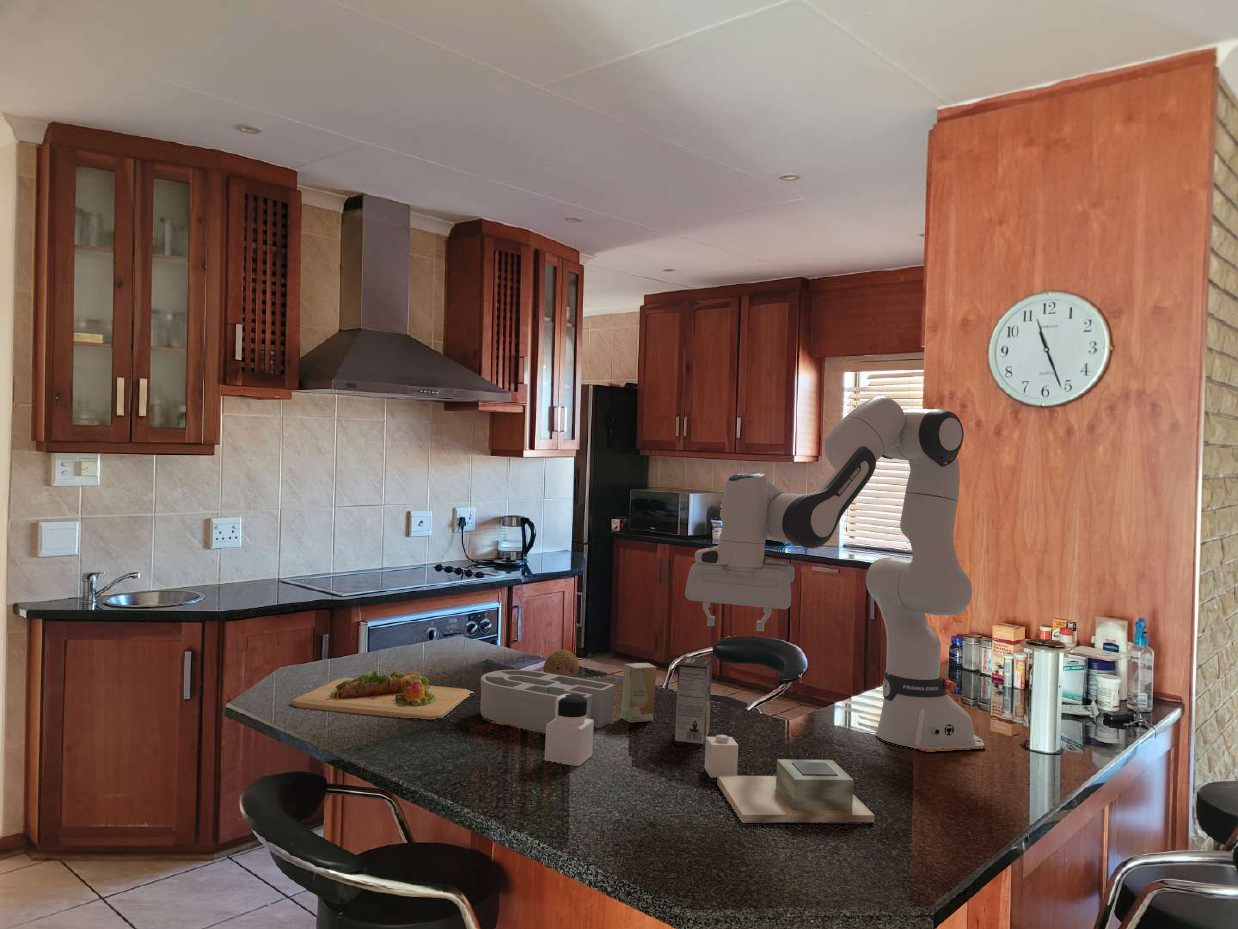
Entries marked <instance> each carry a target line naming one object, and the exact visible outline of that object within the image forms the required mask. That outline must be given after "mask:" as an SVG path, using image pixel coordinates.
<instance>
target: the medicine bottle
mask: <svg viewBox="0 0 1238 929" xmlns="http://www.w3.org/2000/svg"><path fill="white" fill-rule="evenodd" d="M586 715H587V699H586V698H585V697H583V696H581V695H578V694H563V695H560V696H558V697H557V698H556V703H555V719H554V720H552V721H551V722H549V723H547V725H546V735H545V742H544V743H545V744H544V746H545V747H544V761H545V762H548V761H551V762H550V763H554V762H556V764H560V763H561V765H567V766H574V767H580V766H581V765H582V764H583V763H585V762H586V761H587V760H588V759H590V758H591V757H592V756H593V745H594V720H592V719H586Z"/></svg>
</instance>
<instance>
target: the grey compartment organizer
mask: <svg viewBox="0 0 1238 929" xmlns="http://www.w3.org/2000/svg"><path fill="white" fill-rule="evenodd" d="M615 689H616V684H614V683H608V682H603V681H602V682H601V681H597V680H591V679H585V678H579V677H576V678H574V677H568V676H562V675H556V674H550V673H545V672H544V671H538V670H532V669H531V670H530V669H502V670H495V671H490V672H487V673H484V674H482V675H481V677H480V707H479V708H480V710H479V711H480V715H482V716H483V717H484V718H488V719H490V720H493V721H496V722H497V721H498V722H501V723H505V724H510V725H514V726H517V727H520V728H523V729H527V730H534V731H539V732H543V733H546V725H547V723H549V722H551V721H552V720H554V719H555V703H556V698H557V697H558V696H560V695H563V694H578V695H581V696H583V697H585V698H586V699H587V715H586V719H592V720H594V727H598V728H597V729H599V728H600V729H602V728H604V727H606V726H607V725H606V724H608V725H610V724H611V723H612V720H613V711H614V709H613V708H614V694H615V693H616V692H615ZM482 716H481V717H482ZM605 725H606V726H605ZM603 726H604V727H603ZM594 727H593V728H594ZM601 727H602V728H601Z"/></svg>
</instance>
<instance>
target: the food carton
mask: <svg viewBox="0 0 1238 929" xmlns="http://www.w3.org/2000/svg"><path fill="white" fill-rule="evenodd" d="M677 665H678V666H677V682H676V684H677V686H676V687H677V688H676V706H675V708H676V709H675V711H676V712H675V729H674V731H675V732H674V741H675V742H682V743H692V744H699V745H700V744H701V745H704V744H705V743H706V737H708V735H709V733H710V718H711V717H710V715H711V714H710V712H711V692H712V673H713V672H712V671H713V670H712V669H713V667H712V666H713V657H702V656H690V655H689V656H688V655H684V656H683V657H682V659H681V660H680V661H679V663H678V664H677Z"/></svg>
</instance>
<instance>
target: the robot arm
mask: <svg viewBox="0 0 1238 929" xmlns="http://www.w3.org/2000/svg"><path fill="white" fill-rule="evenodd" d="M964 436H965V434H964V427H963V424H962V422H961V419H960V418H959V417H958V415H957V414H956V413H955V412H952V411H950V410H947V409H942V408H934V409H931V408H930V409H929V408H911V409H903V408H902V406H901V405H900V404H899V403H897V402H896V401H895V400H894V399H892V398H890V397H889V396H883V395H880V396H878V395H877V396H874V397H871V398H870V399H868V400H866V401H865V402H863V403H861V404H860V405H858V406H857V407H856V408H854V409H852V410H851V411H850V412H849V413H848V414H847V415H846V416H844V417H843V418H842V419H841V420H840V421H839V422H838V423H837V424H836V425H835V426H834V427H833V428H832V429H831V430H830V432H829V433H828V435H827V437H826V438H825V441H824V451H825V455H826V458H827V460H828V461H829V463H830V465H831V466H832V467H833V469H834V470H835V471H834V472H833V473H832V475H831V476H830V477H829V478H828V480H826V482H825V483H824V484H823V485H822V487H821V488H819V490H816V491H813V492H809V493H804V494H803V493H793V492H792V493H790V492H785V490H782V489H780V488H778V487H777V486H776V485H775V484H773V483H772V482H771V481H770V480H769V479H768V477H767V475H766V474H765V473H762V472H741V473H736V474H733V475H731V476H730V477H729V478H728V479H727V481H726V482H725V485H724V490H723V494H722V500H721V511H720V518H721V531H720V534H719V538H718V545H716V546H709V547H706V548H702V549H698V550H696V551H695V553H694V560H695V563H694V564H692V566H691V567H690V569H689V572H688V575H687V580H686V584H685V592H684V595H685V598H686V599H687V600H688V601H693V602H702V609H703V612H704V614H705V616H706V617H707V619H706V627H715V621H716V616H715V615H711V613H710V611H709V609H710V607H711V604H712V603H713V604H724V605H734V606H735V605H737V606H744V607H757V608H763V613H764V616H763V617H762V618H761V619H760V620H756V627H755V630H756V631H758V632H764V631H765V624H766V622H767V621H768V619H769V618H770V617H771V615H772V611H773V610H772V609H777V610H778V609H779V610H788V609H789V608H790V607H791V605H792V586H791V584H792V583H794V580H795V573H796V571H795V570H796V569H795V567H794V565H793V564H792V563H790V562H788V560H785V559H773V558H765V549H766V548H765V547H766V539H768V540H772V541H777V542H781V543H786V544H793V545H797V546H800V547H803V548H806V549H816V548H820V547H823V546H824V545H825V544H826V543H828V542H829V541H830V539H831V538H832V536H833V535H834V533H835V531H836V529H837V527H838V525H839V523H840V520H841V518H842V516H844V514H845V512H846V511H847V509H848V508H849V507H850V505H851V504H852V503H853V502H854V501H855V499H856V498H857V497H858V495H859V494H860V493H861V492H862V490H863V489H865V488H864V487H865V486H866V485H867V484H868V482H869V481H870V479H871V478H872V476H873V475H874V473H875V470H876V468H877V462H878V460H880V458H883V459H888V460H894V459H895V460H900V461H901V460H902V461H908V464H909V468H910V471H909V476H908V479H907V482H906V488H905V493H904V498H903V504H902V510H901V517H900V522H899V523H900V524H899V528H900V531H901V533H902V535H903V536H904V537H906V538H907V539H908V542H909V543H910V544H909V545H910V547H911V554H912V556H911V557H912V558H907V557H901V556H893V557H891V556H890V557H889V556H888V557H882V558H878V559H876V560H874V561H873V562H872V563H871V564H870V565H869V568H868V569H867V572H866V575H865V584H866V589H867V591H868V593H869V595H870V596H871V597H872V598H873V599H874V601H875V602H876V605H877V606H878V608H879V610H880V613H881V616H882V620H883V622H884V627H885V628H884V629H885V633H886V634H885V635H886V662H885V663H886V666H885V670H884V671H883V681H882V697H883V700H882V702H883V703H882V708H881V713H880V717H879V721H878V724H877V728H876V731H875V733H874V735H875V734H876V735H875V737H876V736H878V737H879V738H881V739H883V740H885V741H888V742H893V743H896V744H901V745H906V746H913V747H916V748H922V749H927V750H930V749H941V748H970V747H978V746H984V743H985V742H984V740H983V739H981V738H980V737H979V736H978V735H977V734H975V730H974V723H973V719H972V717H971V715H970V714H969V713H968V712H967V711H966V710H965V709H964V708H962V706H961V705H959V704H958V703H957V701H955V700H954V699H952V697H951V696H949V695H948V694H947V690H948V691H950V692H955V691H956V689H957V688H958V687H957V684H956V683H955V682H954V681H952V680H950V679H948V680H947V679H945V678H943V677H942V676H940V675H941V674H940V672H941V670H940V668H941V653H942V652H941V648H942V647H941V646H942V643H941V640H940V637H938V635H937V634H936V633H935V632H934V630H932V628H931V626H930V625H929V622H928V619H927V617H926V614H928V615H933V616H956V615H960V614H962V613H963V612H964V611H965V610H966V609H967V608H968V606H969V605H970V603H971V600H972V596H973V585H972V581H971V579H970V577H969V575H968V574H967V573H966V572H965V571H964V570H963V568H962V566H961V564H960V563H959V561H958V557H957V553H956V550H955V549H956V548H955V541H954V539H955V538H954V534H955V533H954V532H955V526H956V525H955V524H956V518H957V516H956V515H957V510H958V509H957V508H958V502H959V495H960V494H959V493H960V483H961V482H960V481H961V480H960V478H961V475H960V474H961V473H960V472H961V471H960V461H959V458H958V455H959V453H960V451H961V448H962V445H963V441H964ZM878 737H877V738H878ZM879 738H878V739H879ZM881 739H880V740H881ZM883 740H882V741H883ZM885 741H884V742H885ZM977 741H980V742H977ZM888 742H887V743H888ZM983 742H984V743H983Z"/></svg>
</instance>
